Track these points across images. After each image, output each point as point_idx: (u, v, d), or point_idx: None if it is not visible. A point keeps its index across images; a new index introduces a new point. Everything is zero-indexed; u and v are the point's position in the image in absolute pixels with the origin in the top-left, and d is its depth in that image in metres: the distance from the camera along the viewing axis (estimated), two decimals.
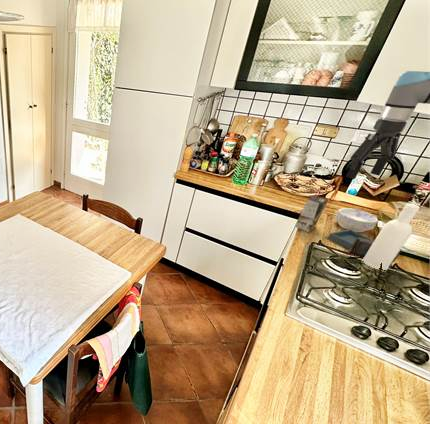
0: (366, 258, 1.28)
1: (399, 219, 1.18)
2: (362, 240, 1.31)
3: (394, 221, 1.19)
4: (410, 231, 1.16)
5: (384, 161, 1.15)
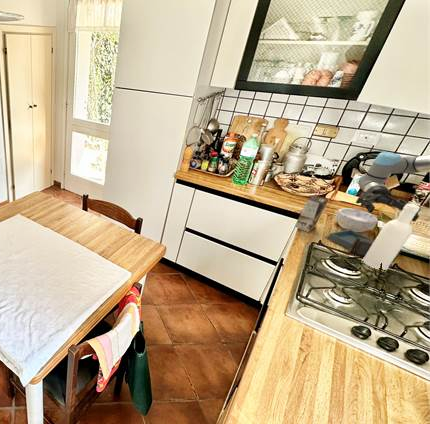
0: (366, 258, 1.28)
1: (399, 219, 1.18)
2: (362, 240, 1.31)
3: (394, 221, 1.19)
4: (410, 231, 1.16)
5: None
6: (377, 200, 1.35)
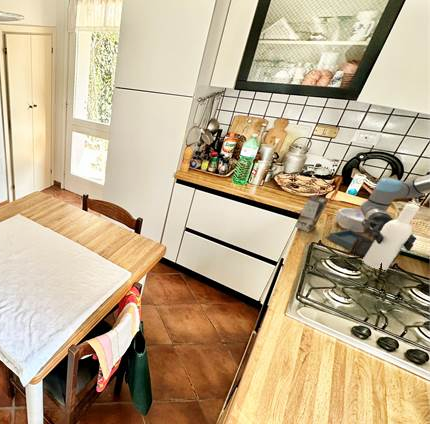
0: (366, 258, 1.28)
1: (399, 219, 1.18)
2: (362, 240, 1.31)
3: (394, 221, 1.19)
4: (410, 231, 1.16)
5: None
6: (378, 227, 1.30)
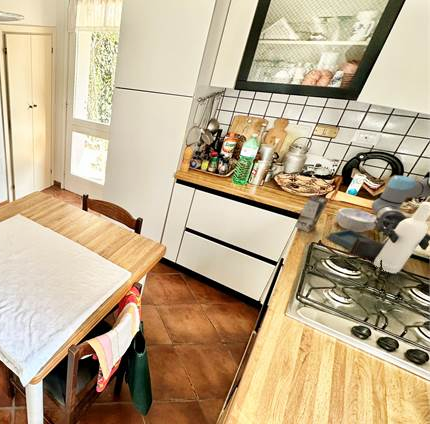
0: (379, 257, 1.25)
1: (414, 217, 1.15)
2: (362, 240, 1.31)
3: (409, 220, 1.16)
4: (426, 230, 1.14)
5: None
6: None
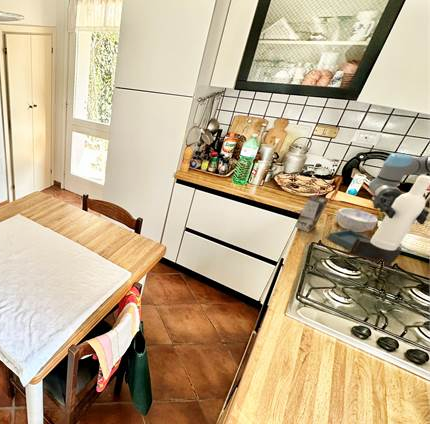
0: (377, 235, 1.23)
1: (412, 192, 1.13)
2: (362, 240, 1.31)
3: (406, 194, 1.14)
4: (423, 204, 1.11)
5: None
6: None
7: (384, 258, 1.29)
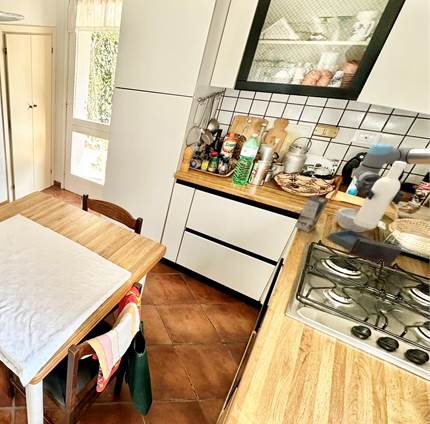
0: (358, 215, 1.39)
1: (388, 176, 1.28)
2: (362, 240, 1.31)
3: (384, 178, 1.30)
4: (398, 186, 1.27)
5: None
6: None
7: (384, 258, 1.29)
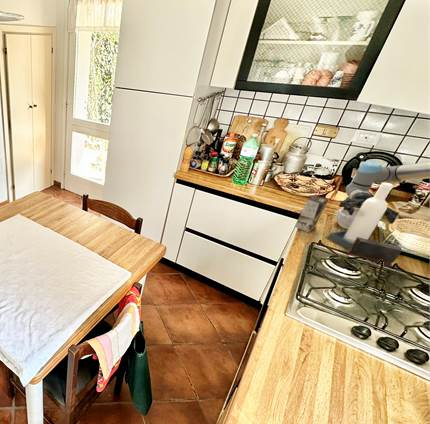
0: (348, 233, 1.43)
1: (376, 196, 1.33)
2: (362, 240, 1.31)
3: (371, 198, 1.35)
4: (385, 207, 1.32)
5: (389, 213, 1.36)
6: (359, 205, 1.45)
7: (384, 258, 1.29)
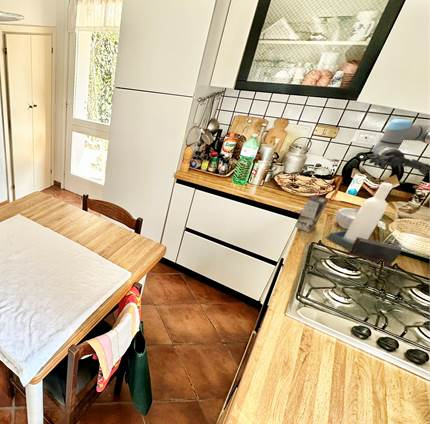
0: (348, 233, 1.43)
1: (375, 196, 1.33)
2: (362, 240, 1.31)
3: (371, 198, 1.35)
4: (385, 207, 1.32)
5: (422, 166, 1.33)
6: (390, 161, 1.42)
7: (384, 258, 1.29)
